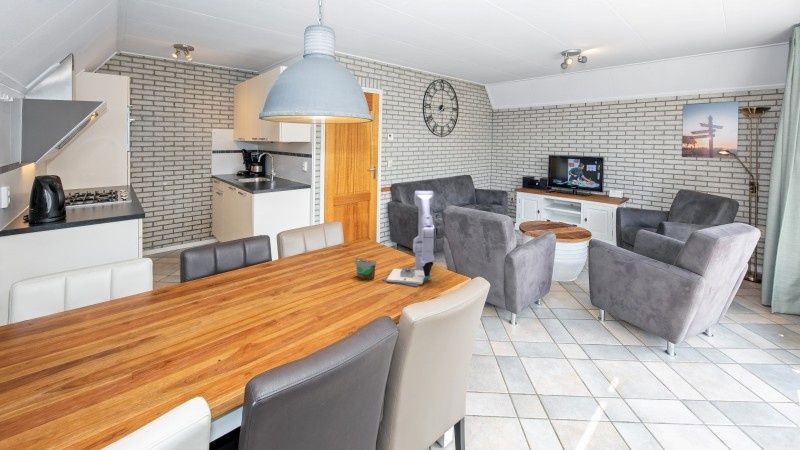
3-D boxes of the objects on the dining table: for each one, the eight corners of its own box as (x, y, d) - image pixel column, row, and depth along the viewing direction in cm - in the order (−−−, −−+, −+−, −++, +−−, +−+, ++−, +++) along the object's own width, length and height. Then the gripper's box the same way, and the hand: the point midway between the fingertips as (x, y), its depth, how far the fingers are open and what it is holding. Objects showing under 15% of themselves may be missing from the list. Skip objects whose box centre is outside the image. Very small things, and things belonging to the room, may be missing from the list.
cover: (402, 272, 216) (402, 266, 215) (414, 273, 214) (415, 267, 214) (400, 276, 209) (400, 270, 209) (412, 277, 208) (413, 271, 207)
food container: (350, 278, 211) (349, 259, 209) (356, 275, 216) (356, 257, 214) (370, 282, 206) (370, 263, 203) (376, 279, 211) (376, 260, 209)
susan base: (398, 270, 225) (398, 269, 225) (431, 276, 217) (431, 274, 217) (382, 281, 208) (382, 279, 208) (416, 287, 200) (416, 286, 200)
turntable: (394, 270, 222) (394, 264, 222) (432, 273, 219) (432, 267, 218) (386, 281, 205) (386, 274, 204) (428, 284, 201) (428, 277, 201)
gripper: (425, 246, 213) (424, 270, 216) (414, 252, 200) (413, 278, 203) (438, 247, 210) (437, 273, 213) (427, 254, 197) (427, 281, 200)
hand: (426, 276), depth 208 cm, fingers closed
